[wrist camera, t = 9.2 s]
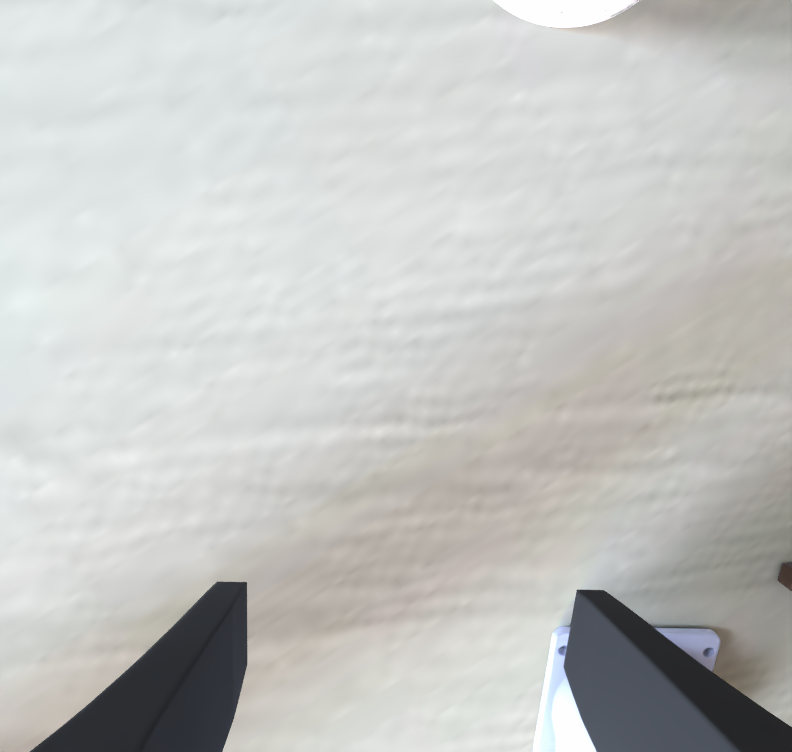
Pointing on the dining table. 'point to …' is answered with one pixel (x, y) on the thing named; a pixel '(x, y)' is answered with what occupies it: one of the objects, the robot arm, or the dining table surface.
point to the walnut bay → (786, 575)
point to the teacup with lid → (565, 11)
